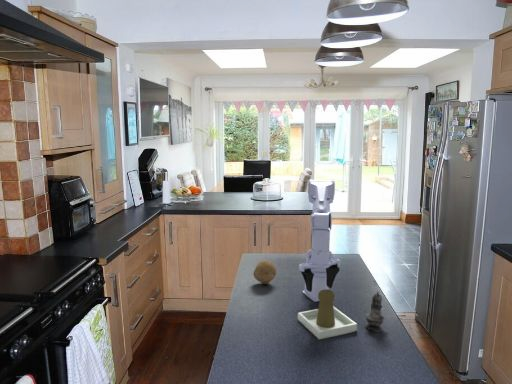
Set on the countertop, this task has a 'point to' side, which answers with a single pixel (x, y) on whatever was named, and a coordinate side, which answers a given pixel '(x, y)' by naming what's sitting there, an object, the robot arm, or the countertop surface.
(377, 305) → the gray chess piece
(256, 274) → the natural sponge
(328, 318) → the cork
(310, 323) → the tray
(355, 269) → the countertop surface
